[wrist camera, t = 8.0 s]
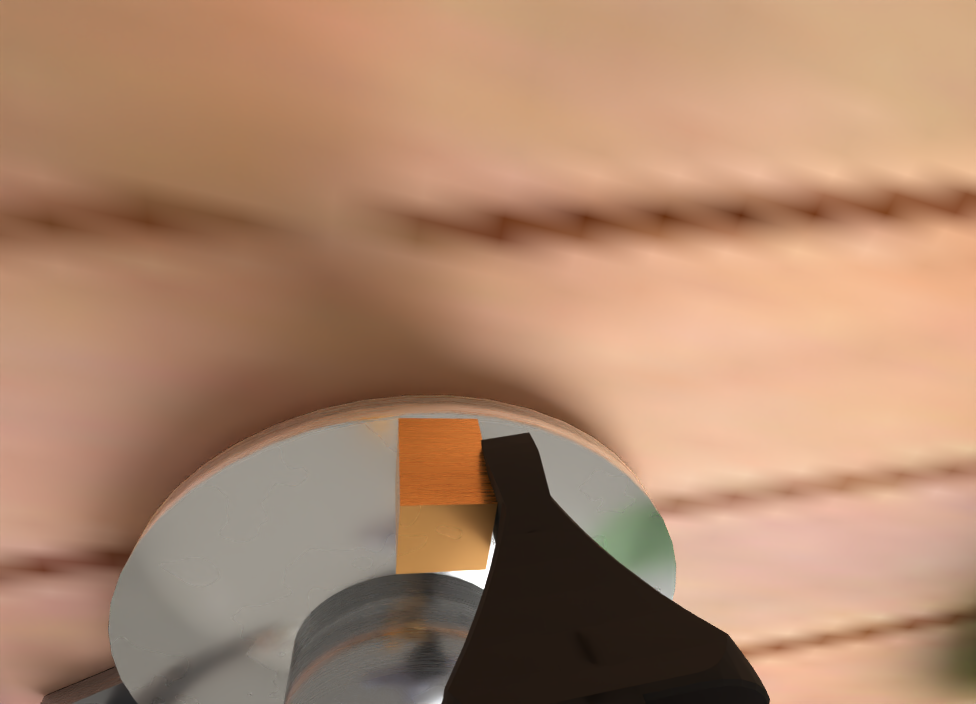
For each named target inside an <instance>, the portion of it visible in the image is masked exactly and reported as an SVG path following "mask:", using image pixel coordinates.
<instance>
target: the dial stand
mask: <svg viewBox="0 0 976 704" xmlns="http://www.w3.org/2000/svg"><path fill="white" fill-rule="evenodd" d="M41 704H138V703H137V702H136V701H135V700H134V698H133V697H132V695H131V694H130V692H129V690H128V689H127V687H126V686H125V684H124V683H123V681H122V680H121V678H120V675H119V673H118V670H117V667H114V668H112V669H109V670H107V671H104V672H102V673H100V674H97V675H95V676H92V677H90V678H88V679H85V680H83V681H80V682H78V683H76V684H73V685H71V686H68V687H66V688H64V689H61V690H59V691H57V692H54V693H52V694H49V695H47V696H45V697H44V698H43V700H42V702H41Z"/></svg>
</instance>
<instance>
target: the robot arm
mask: <svg viewBox="0 0 976 704" xmlns="http://www.w3.org/2000/svg"><path fill="white" fill-rule="evenodd" d="M481 446H482V451H483V456H484V460H485V465H486V469H487V474H488V477H489V480H490V483H491V486H492V489H493V492H494V494H495V497H496V500H497V503H498V504H497V510H496V515H495V521H494V527H493V535H494V540H495V543H496V544H495V549H494V553H493V557H492V561H491V565H490V569H489V572H488V576H487V579H486V583H485V586H484V590H483V593H482V596H481V599H480V602H479V605H478V608H477V611H476V613H475V616H474V619H473V622H472V624H471V627H470V630H469V632H468V635H467V638H466V640H465V643H464V645H463V648H462V650H461V652H460V655H459V657H458V659H457V661H456V664H455V666H454V668H453V670H452V673H451V675H450V677H449V679H448V681H447V684H446V686H445V689H444V694H443V699H442V703H441V704H769V702H770V698H769V696H768V693H767V691H766V689H765V687H764V686H763V684H762V682H761V680H760V678H759V677H758V675H757V673H756V672H755V670H754V669H753V667H752V666H751V664H750V663H749V662H748V660H747V659H746V658H745V656H744V655H743V653H742V652H741V651H740V649H739V648H738V647H737V645H736V644H735V643H734V641H733V640H732V639H731V638H730V636H729V635H728V634H727V633H725V632H723V631H722V630H720V629H718V628H716V627H715V626H713V625H711V624H710V623H708V622H706V621H704V620H703V619H701V618H699V617H697V616H696V615H694V614H692V613H691V612H689V611H688V610H686V609H684V608H683V607H681V606H680V605H678V604H677V603H675V602H674V601H672V600H671V599H669V598H668V597H666V596H665V595H663V594H662V593H660V592H659V591H657V590H656V589H654V588H653V587H652V586H650V585H649V584H648V583H646V582H645V581H644V580H642V579H641V578H640V577H638V576H637V575H636V574H634V573H633V572H632V571H630V570H629V569H628V568H626V567H625V566H624V565H622V564H621V563H620V562H619V561H617V560H616V559H615V558H614V557H613V556H612V555H610V554H609V553H608V552H607V551H606V550H604V549H603V548H602V547H601V546H600V545H599V544H598V543H597V542H595V541H594V540H593V539H592V538H591V537H590V536H589V535H588V534H587V533H586V532H585V531H584V530H583V529H582V528H581V527H580V526H579V525H578V524H577V523H576V522H575V521H574V520H573V519H572V518H571V517H570V516H569V515H568V514H567V513H566V512H565V511H564V510H563V509H562V508H561V507H560V506H559V504H558V503H557V502H556V501H555V500H554V499H553V498H552V496H551V495H550V492H549V488H548V484H547V480H546V476H545V472H544V468H543V465H542V461H541V457H540V454H539V450H538V448H537V446H536V444H535V442H534V440H533V438H532V436H531V435H530V433H529V432H528V433H522V434H515V435H509V436H503V437H496V438H490V439H484V440H481Z"/></svg>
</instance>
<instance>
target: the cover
mask: <svg viewBox="0 0 976 704" xmlns="http://www.w3.org/2000/svg"><path fill="white" fill-rule="evenodd" d="M483 590H484V589H482V588H481V587H479V586H477V585H475V584H473V583H471V582H468V581H465V580H462V579H460V578H456V577H452V576H447V575H441V574H434V573H409V574H394V575H387V576H383V577H378V578H374V579H370V580H367V581H364V582H361V583H357V584H355V585H353V586H350V587H348V588H346V589H343V590H342V591H340V592H338V593H336V594H334V595H332V596H331V597H329V598H328V599H326V600H325V601H324V602H322V603H321V604H319V605H318V606H317V607H316V608H315V609H314V610H313V611H312V612H311V613H310V614H309V615H308V616H307V617H306V619H305V620H304V621H303V623H302V624H301V626H300V628H299V629H298V631H297V634H296V637H295V640H294V646H293V651H292V657H291V663H290V669H289V675H288V681H287V687H286V693H285V699H284V704H441V703H442V699H443V694H444V689H445V686H446V684H447V681H448V679H449V677H450V675H451V673H452V670H453V668H454V666H455V664H456V661H457V659H458V657H459V655H460V652H461V650H462V648H463V645H464V643H465V640H466V638H467V635H468V632H469V630H470V627H471V624H472V622H473V619H474V616H475V613H476V611H477V608H478V605H479V602H480V599H481V596H482V593H483Z"/></svg>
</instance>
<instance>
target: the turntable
mask: <svg viewBox="0 0 976 704" xmlns="http://www.w3.org/2000/svg"><path fill="white" fill-rule="evenodd" d="M528 432H529V433H530V435H531V436H532V438H533V440H534V442H535V444H536V446H537V448H538V450H539V454H540V457H541V461H542V465H543V468H544V472H545V476H546V480H547V484H548V488H549V492H550V495H551V496H552V498H553V499H554V500H555V501H556V502H557V503H558V504H559V506H560V507H561V508H562V509H563V510H564V511H565V512H566V513H567V514H568V515H569V516H570V517H571V518H572V519H573V520H574V521H575V522H576V523H577V524H578V525H579V526H580V527H581V528H582V529H583V530H584V531H585V532H586V533H587V534H588V535H589V536H590V537H591V538H592V539H593V540H594V541H595V542H597V543H598V544H599V545H600V546H601V547H602V548H603V549H604V550H606V551H607V552H608V553H609V554H610V555H612V556H613V557H614V558H615V559H616V560H617V561H619V562H620V563H621V564H622V565H624V566H625V567H626V568H628V569H629V570H630V571H632V572H633V573H634V574H636V575H637V576H638V577H640V578H641V579H642V580H644V581H645V582H646V583H648V584H649V585H650V586H652V587H653V588H654V589H656V590H657V591H659V592H660V593H662V594H663V595H665V596H666V597H668V598H669V599H671V600H673V595H674V591H675V581H676V562H675V556H674V550H673V544H672V541H671V538H670V536H669V533H668V531H667V528H666V526H665V523H664V521H663V519H662V517H661V515H660V514H659V512H658V510H657V509H656V507H655V505H654V504H653V502H652V500H651V498H650V497H649V495H648V494H647V492H646V490H645V489H644V487H643V486H642V484H641V483H640V481H639V480H638V478H637V477H636V475H635V474H634V473H633V472H632V471H631V470H630V469H629V467H628V466H627V465H626V464H625V463H624V462H623V461H622V460H621V459H620V458H619V457H618V456H617V455H616V454H615V453H613V452H612V451H611V450H610V449H608V448H607V447H606V446H604V445H603V444H602V443H600V442H599V441H598V440H596V439H595V438H594V437H592V436H590V435H588V434H587V433H585V432H583V431H581V430H579V429H577V428H575V427H573V426H572V425H570V424H568V423H566V422H564V421H562V420H559V419H556V418H554V417H551V416H548V415H546V414H543V413H540V412H537V411H535V410H532V409H529V408H525V407H521V406H516V405H512V404H508V403H503V402H499V401H495V400H489V399H480V398H471V397H462V396H453V395H404V396H395V397H385V398H376V399H367V400H360V401H355V402H351V403H346V404H342V405H337V406H333V407H328V408H324V409H319V410H316V411H313V412H310V413H307V414H304V415H301V416H298V417H295V418H292V419H290V420H287V421H284V422H281V423H278V424H275V425H273V426H271V427H269V428H267V429H265V430H263V431H260V432H258V433H256V434H254V435H252V436H250V437H248V438H246V439H244V440H242V441H240V442H238V443H236V444H234V445H233V446H231V447H230V448H228V449H227V450H225V451H223V452H222V453H220V454H219V455H217V456H216V457H214V458H213V459H211V460H209V461H208V462H206V463H205V464H203V465H202V466H201V467H200V468H199V469H197V470H196V471H195V472H194V473H193V474H192V475H191V476H189V477H188V478H187V479H186V480H185V481H184V482H182V483H181V484H180V485H179V486H178V487H177V488H175V489H174V491H173V492H172V493H171V494H170V495H169V497H168V498H167V499H166V500H165V501H164V503H163V504H162V505H161V506H160V507H159V508H158V510H157V511H156V512H155V513H154V514H153V516H152V517H151V519H150V521H149V523H148V524H147V526H146V528H145V530H144V531H143V533H142V535H141V536H140V538H139V540H138V542H137V543H136V545H135V547H134V549H133V551H132V553H131V555H130V557H129V559H128V560H127V562H126V564H125V566H124V568H123V570H122V572H121V574H120V576H119V579H118V582H117V585H116V588H115V591H114V594H113V597H112V600H111V605H110V616H109V626H108V632H109V639H110V646H111V653H112V657H113V660H114V662H115V665H116V667H117V670H118V673H119V675H120V678H121V680H122V681H123V683H124V684H125V686H126V687H127V689H128V690H129V692H130V694H131V695H132V697H133V698H134V700H135V701H136V702H137V703H138V704H284V699H285V693H286V687H287V681H288V675H289V669H290V663H291V657H292V651H293V646H294V640H295V637H296V634H297V631H298V629H299V628H300V626H301V624H302V623H303V621H304V620H305V619H306V617H307V616H308V615H309V614H310V613H311V612H312V611H313V610H314V609H315V608H316V607H317V606H318V605H319V604H321V603H322V602H324V601H325V600H326V599H328V598H329V597H331V596H332V595H334V594H336V593H338V592H340V591H342V590H343V589H346V588H348V587H350V586H353V585H355V584H357V583H361V582H364V581H367V580H370V579H374V578H378V577H383V576H387V575H394V574H409V573H434V574H441V575H447V576H452V577H456V578H460V579H462V580H465V581H468V582H471V583H473V584H475V585H477V586H479V587H481V588H482V589H484V586H485V583H486V579H487V576H488V572H489V569H490V565H491V561H492V557H493V553H494V549H495V544H496V543H495V540H494V535H493V527H494V521H495V515H496V510H497V504H498V503H497V500H496V497H495V494H494V492H493V489H492V486H491V483H490V480H489V477H488V474H487V469H486V465H485V460H484V456H483V451H482V446H481V440H484V439H490V438H496V437H503V436H509V435H515V434H522V433H528Z"/></svg>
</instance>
